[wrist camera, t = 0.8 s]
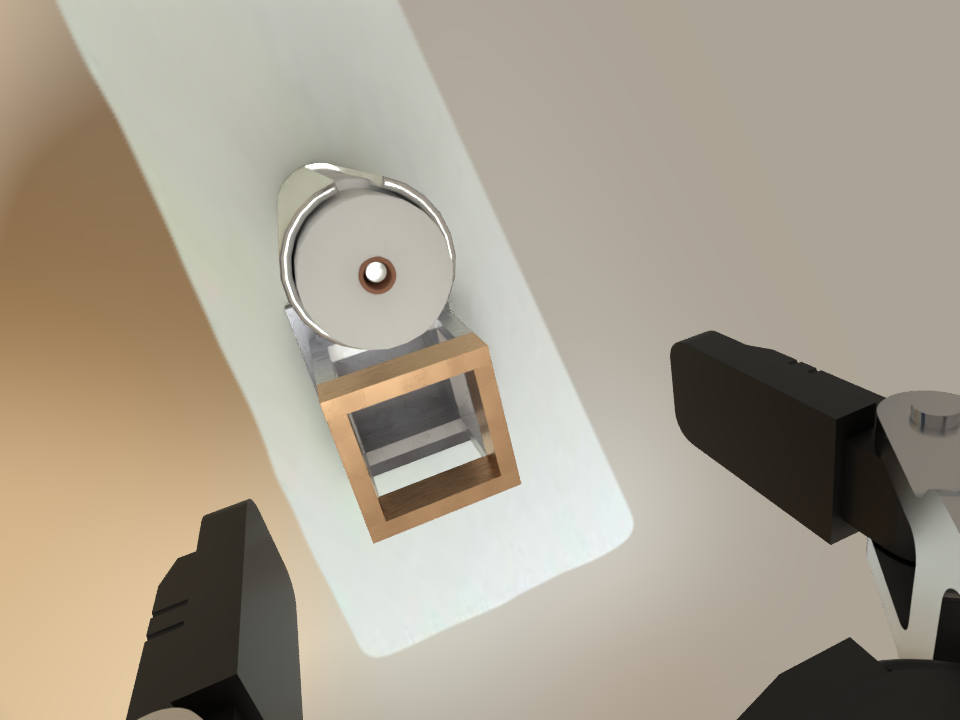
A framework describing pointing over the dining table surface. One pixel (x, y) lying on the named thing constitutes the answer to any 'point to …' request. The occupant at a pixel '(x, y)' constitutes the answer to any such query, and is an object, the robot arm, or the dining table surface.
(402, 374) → the collar stand
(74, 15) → the dining table surface
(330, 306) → the grey cylinder
